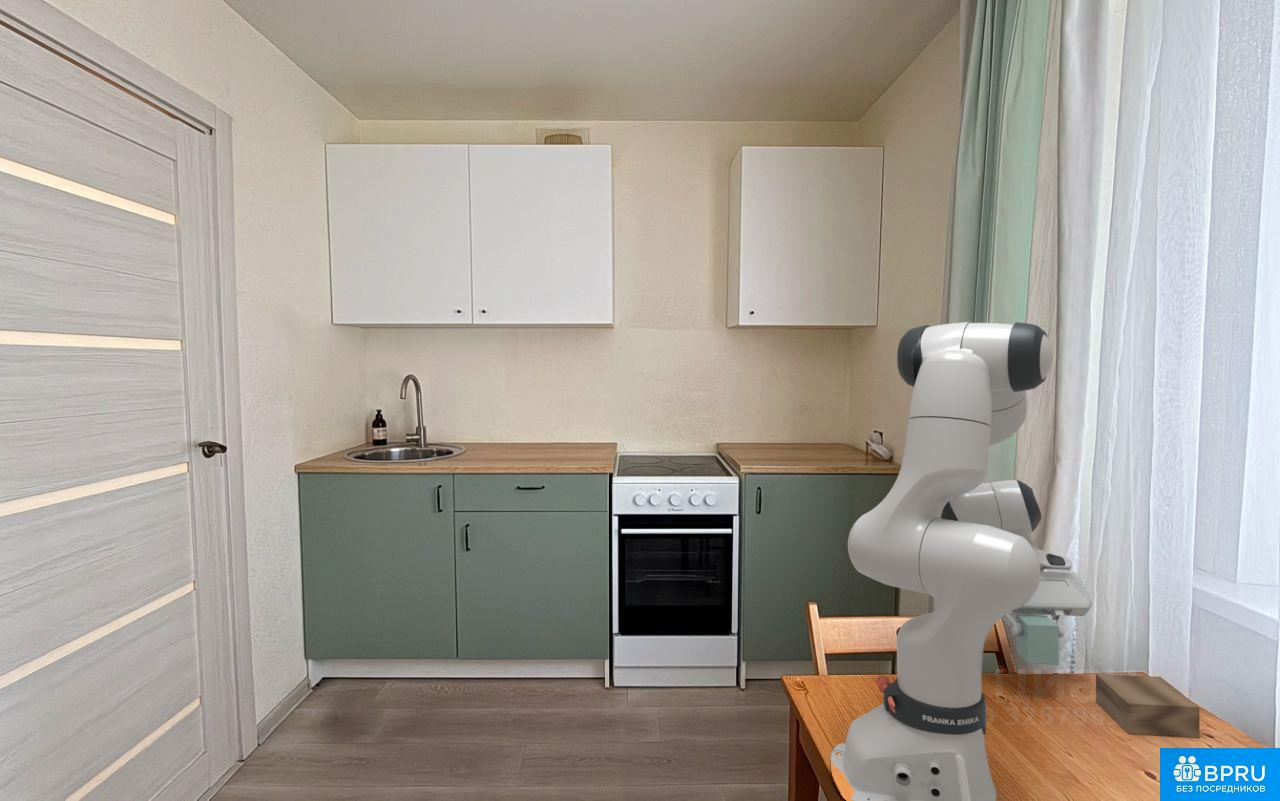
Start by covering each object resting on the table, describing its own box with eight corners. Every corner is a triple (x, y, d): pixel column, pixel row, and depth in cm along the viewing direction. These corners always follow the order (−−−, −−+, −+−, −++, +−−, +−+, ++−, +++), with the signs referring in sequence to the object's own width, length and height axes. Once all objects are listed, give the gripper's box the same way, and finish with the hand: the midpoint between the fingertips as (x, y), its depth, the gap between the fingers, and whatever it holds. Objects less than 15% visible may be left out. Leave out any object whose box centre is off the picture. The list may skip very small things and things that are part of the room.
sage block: (1027, 663, 113) (1027, 625, 113) (1016, 651, 118) (1016, 614, 118) (1058, 665, 112) (1058, 626, 112) (1046, 653, 117) (1045, 615, 117)
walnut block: (1128, 733, 102) (1128, 703, 102) (1096, 701, 112) (1095, 673, 112) (1199, 737, 101) (1199, 707, 100) (1160, 704, 110) (1160, 676, 110)
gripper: (962, 556, 123) (980, 625, 114) (1079, 558, 120) (1107, 630, 110) (955, 572, 128) (972, 640, 119) (1068, 574, 124) (1094, 645, 115)
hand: (1038, 635), depth 114 cm, fingers closed on sage block, 5 cm apart
